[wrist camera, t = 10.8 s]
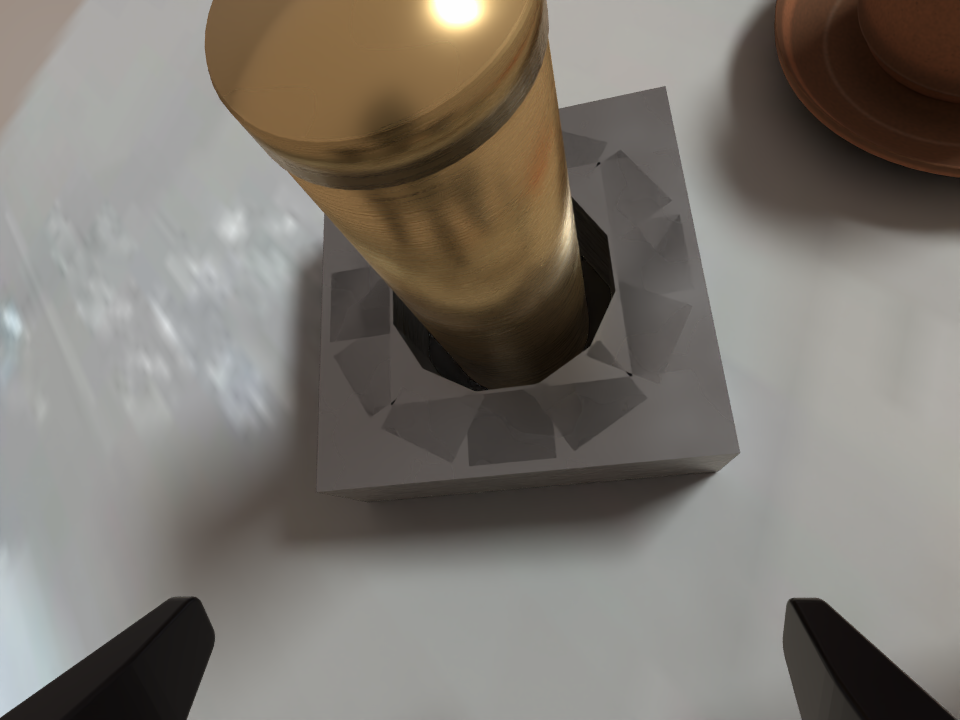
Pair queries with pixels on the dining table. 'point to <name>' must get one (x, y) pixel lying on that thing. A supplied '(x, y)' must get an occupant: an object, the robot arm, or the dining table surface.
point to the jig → (572, 388)
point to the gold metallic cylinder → (425, 158)
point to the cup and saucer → (879, 74)
